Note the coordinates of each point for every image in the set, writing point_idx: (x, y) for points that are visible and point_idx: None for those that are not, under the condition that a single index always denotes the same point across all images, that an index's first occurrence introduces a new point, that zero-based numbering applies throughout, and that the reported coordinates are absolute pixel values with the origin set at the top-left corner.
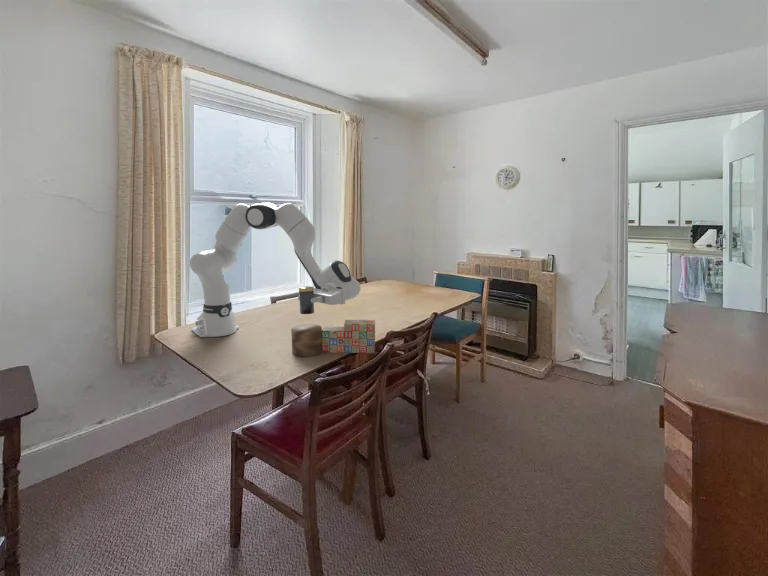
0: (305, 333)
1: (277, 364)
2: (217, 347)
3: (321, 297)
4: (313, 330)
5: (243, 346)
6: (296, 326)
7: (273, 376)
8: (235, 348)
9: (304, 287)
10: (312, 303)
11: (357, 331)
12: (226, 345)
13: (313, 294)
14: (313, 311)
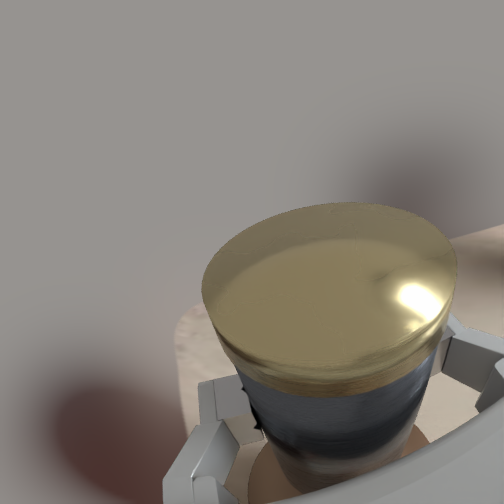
0: (264, 448)
1: None
2: (488, 277)
3: (169, 500)
4: (272, 496)
5: (488, 324)
6: (411, 437)
7: (211, 361)
8: (475, 308)
9: (368, 241)
10: (269, 441)
11: None
12: (501, 291)
13: (276, 416)
14: (290, 481)
